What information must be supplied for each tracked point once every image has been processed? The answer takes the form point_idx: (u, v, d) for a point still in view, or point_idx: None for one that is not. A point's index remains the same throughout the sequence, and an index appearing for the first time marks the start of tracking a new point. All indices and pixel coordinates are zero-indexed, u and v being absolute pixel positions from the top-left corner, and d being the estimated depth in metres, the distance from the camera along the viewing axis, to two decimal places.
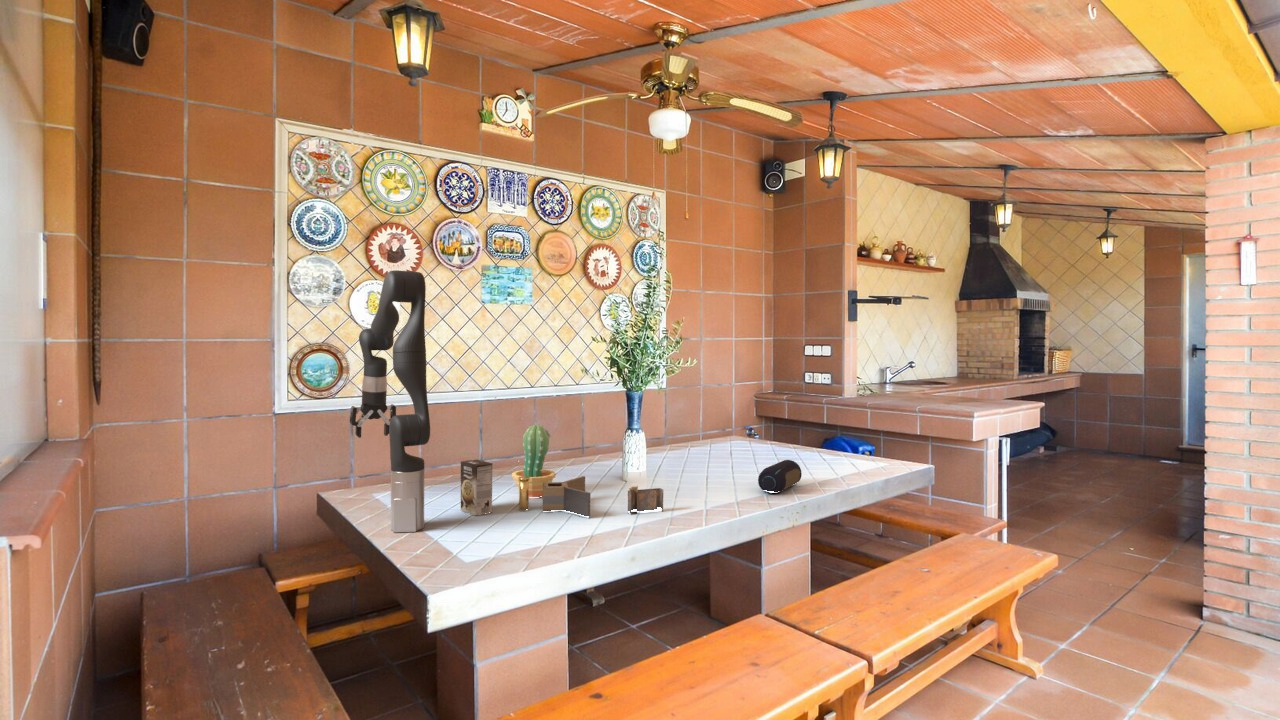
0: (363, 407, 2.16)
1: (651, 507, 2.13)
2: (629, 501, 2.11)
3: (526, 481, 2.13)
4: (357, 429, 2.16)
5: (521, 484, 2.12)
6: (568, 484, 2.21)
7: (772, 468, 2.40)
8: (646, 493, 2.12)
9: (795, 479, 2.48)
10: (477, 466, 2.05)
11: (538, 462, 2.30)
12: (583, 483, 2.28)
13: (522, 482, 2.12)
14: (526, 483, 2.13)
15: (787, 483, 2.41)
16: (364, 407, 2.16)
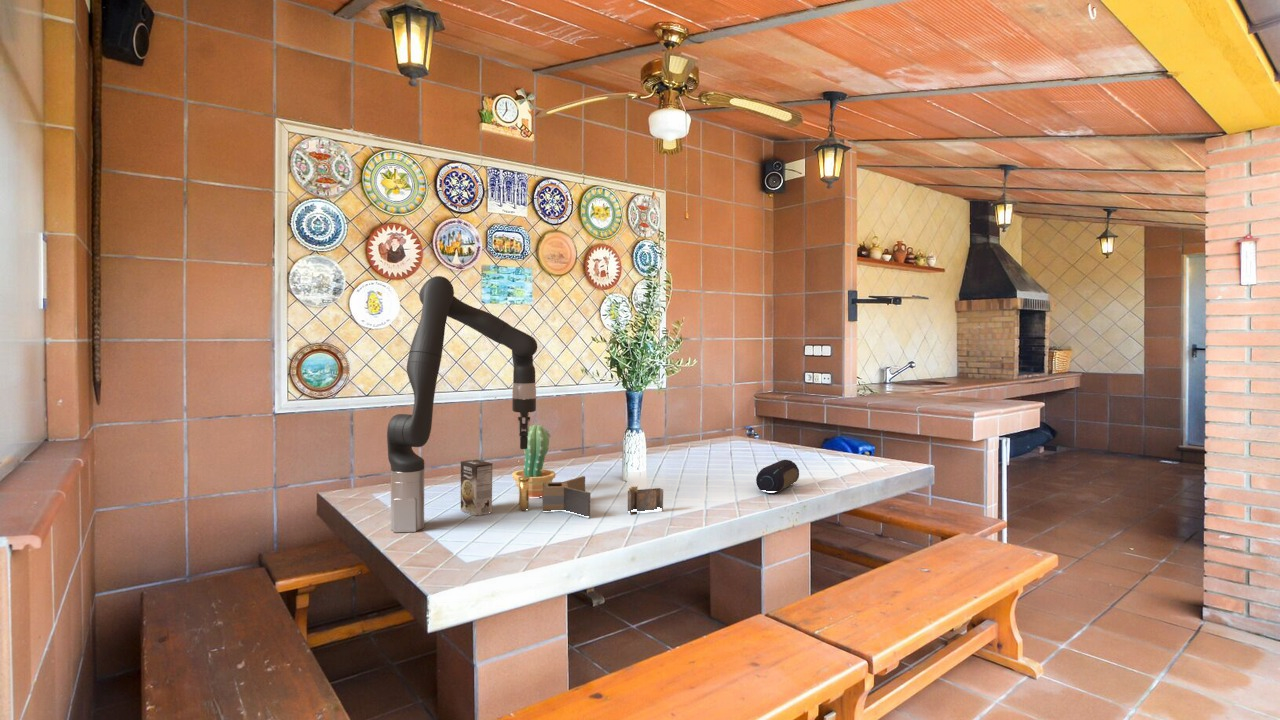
0: None
1: (651, 507, 2.13)
2: (629, 501, 2.11)
3: (526, 481, 2.13)
4: None
5: (521, 484, 2.12)
6: (568, 484, 2.21)
7: (770, 468, 2.40)
8: (646, 493, 2.12)
9: (793, 479, 2.48)
10: (477, 466, 2.05)
11: (538, 462, 2.30)
12: (583, 483, 2.28)
13: (522, 482, 2.12)
14: (526, 483, 2.13)
15: (785, 483, 2.41)
16: None
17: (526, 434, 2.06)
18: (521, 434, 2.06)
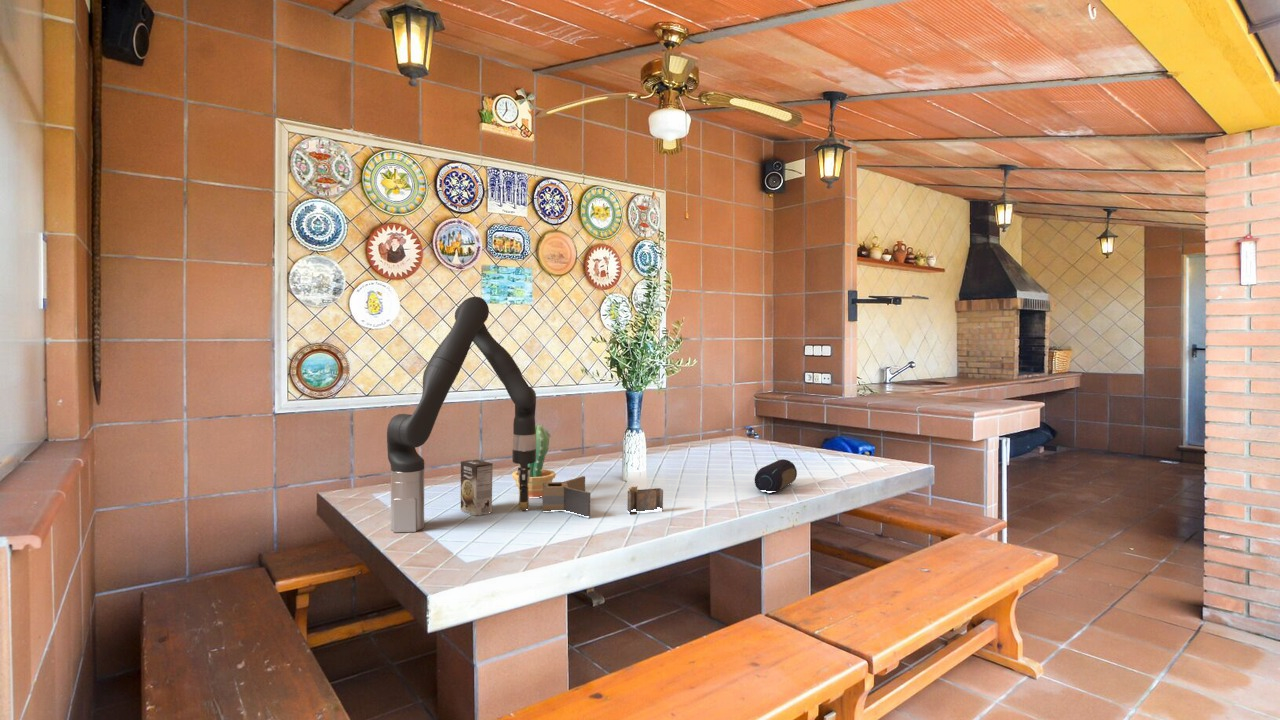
0: None
1: (651, 508, 2.12)
2: (629, 501, 2.11)
3: None
4: None
5: None
6: (568, 484, 2.21)
7: (768, 468, 2.40)
8: (646, 493, 2.12)
9: (791, 478, 2.49)
10: (477, 466, 2.05)
11: (538, 462, 2.30)
12: (583, 483, 2.28)
13: None
14: None
15: (783, 483, 2.42)
16: None
17: (526, 489, 2.10)
18: (521, 489, 2.09)
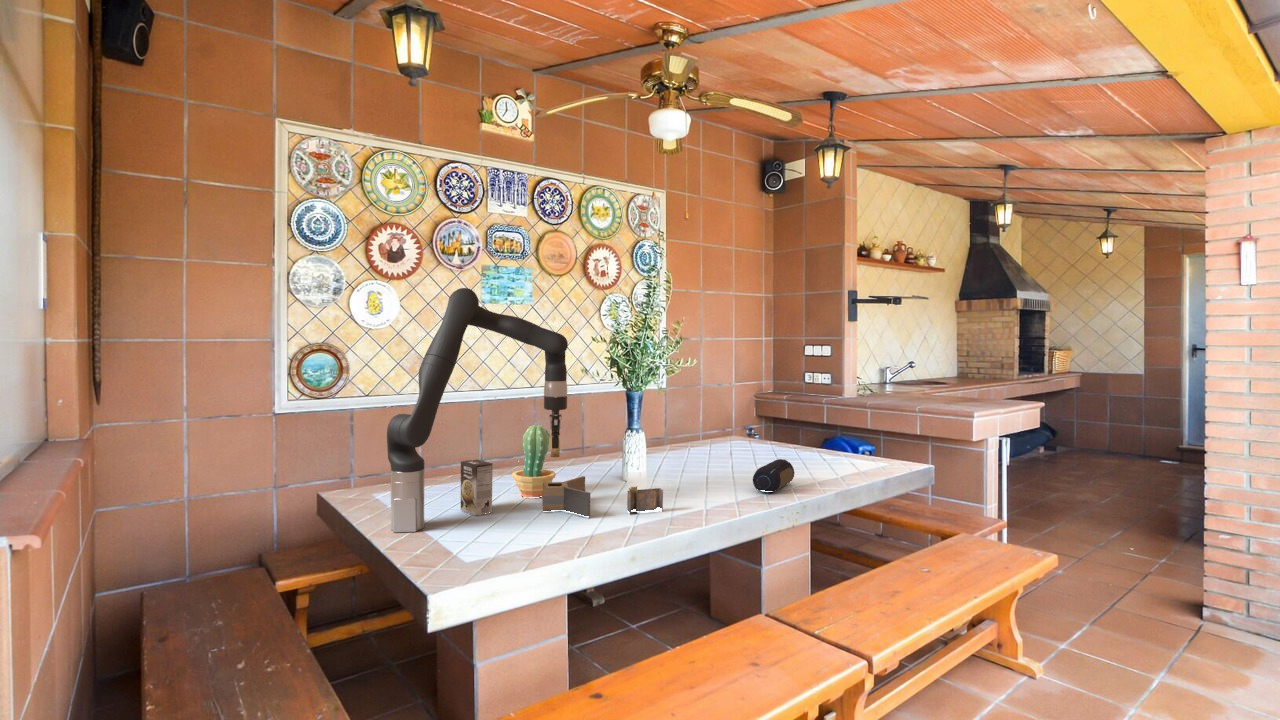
0: None
1: (651, 508, 2.12)
2: (629, 501, 2.11)
3: None
4: None
5: (553, 430, 2.13)
6: (568, 484, 2.21)
7: (767, 468, 2.40)
8: (646, 493, 2.12)
9: (788, 478, 2.49)
10: (477, 466, 2.05)
11: (538, 462, 2.30)
12: (583, 483, 2.28)
13: None
14: None
15: (781, 482, 2.42)
16: None
17: (558, 434, 2.10)
18: (553, 434, 2.10)
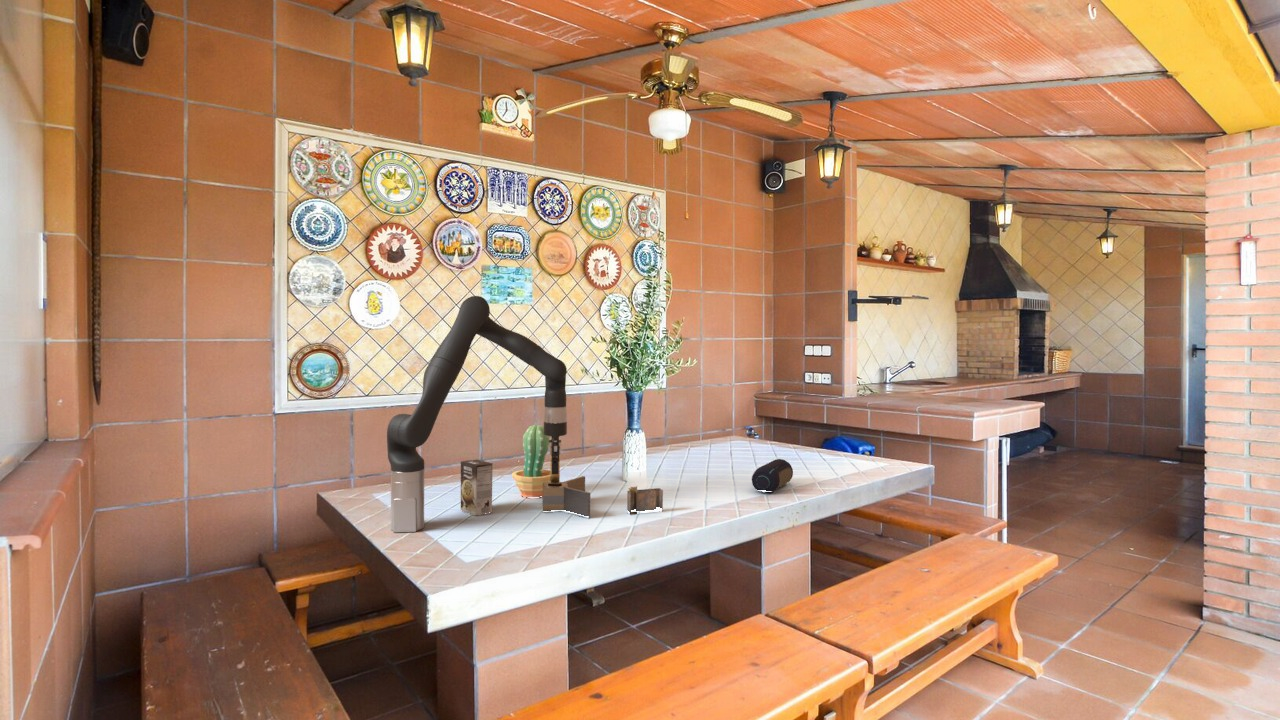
0: None
1: (651, 508, 2.12)
2: (628, 501, 2.11)
3: None
4: None
5: None
6: (568, 484, 2.21)
7: (766, 467, 2.40)
8: (645, 493, 2.12)
9: (787, 478, 2.49)
10: (477, 466, 2.05)
11: (538, 462, 2.30)
12: (583, 483, 2.28)
13: None
14: None
15: (780, 482, 2.42)
16: None
17: (558, 461, 2.11)
18: (553, 461, 2.11)
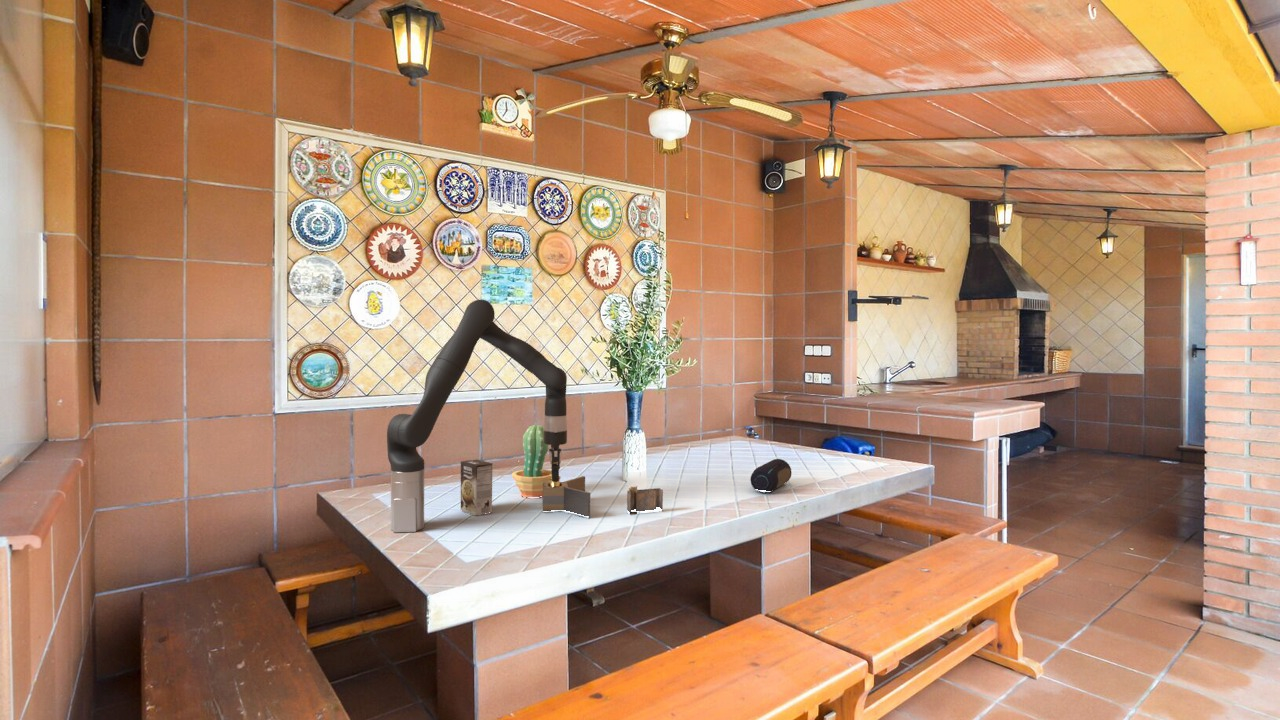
0: None
1: (651, 508, 2.12)
2: (628, 501, 2.11)
3: None
4: None
5: (552, 483, 2.14)
6: (568, 484, 2.21)
7: (764, 467, 2.41)
8: (645, 493, 2.12)
9: (786, 478, 2.50)
10: (477, 466, 2.05)
11: (538, 462, 2.30)
12: (583, 483, 2.28)
13: None
14: (557, 482, 2.14)
15: (779, 482, 2.42)
16: None
17: (558, 467, 2.08)
18: (553, 467, 2.08)
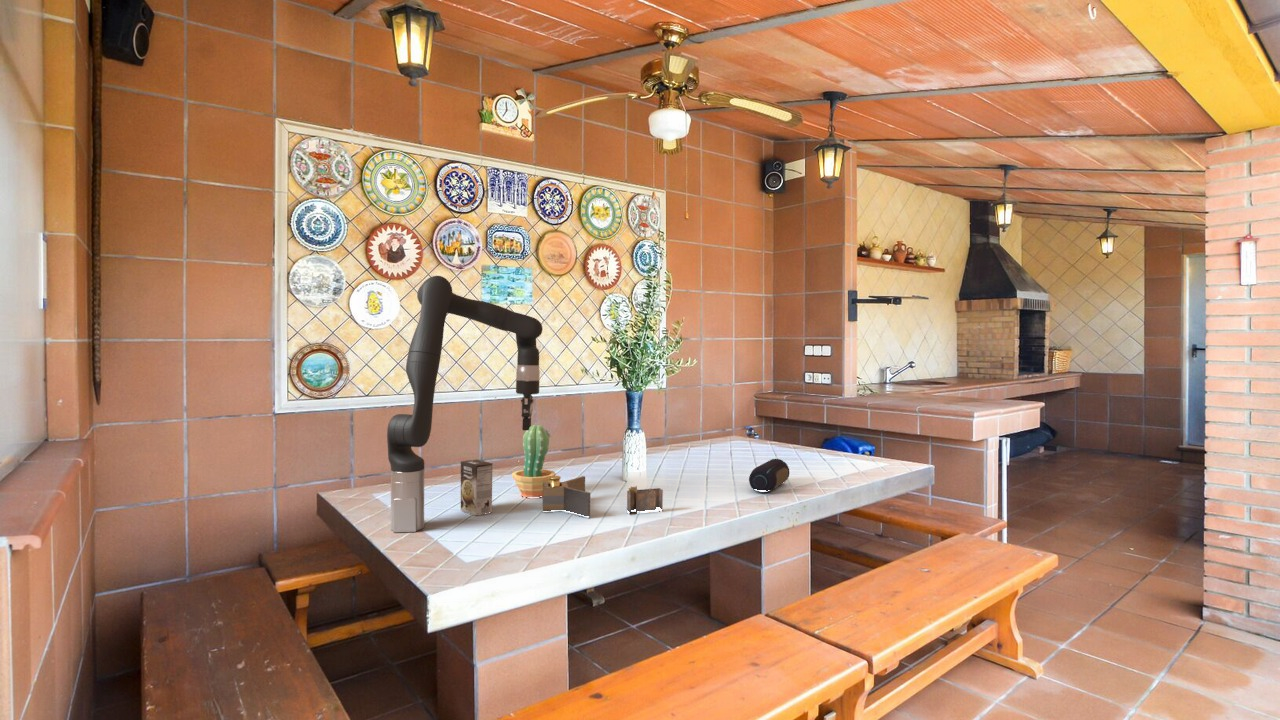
0: None
1: (651, 508, 2.12)
2: (628, 501, 2.11)
3: (557, 480, 2.14)
4: None
5: (552, 483, 2.14)
6: (568, 484, 2.21)
7: (763, 467, 2.41)
8: (645, 493, 2.11)
9: (784, 478, 2.50)
10: (477, 466, 2.05)
11: (538, 462, 2.30)
12: (583, 483, 2.28)
13: (553, 481, 2.14)
14: (557, 482, 2.14)
15: (777, 482, 2.43)
16: None
17: (528, 415, 2.08)
18: (523, 415, 2.08)
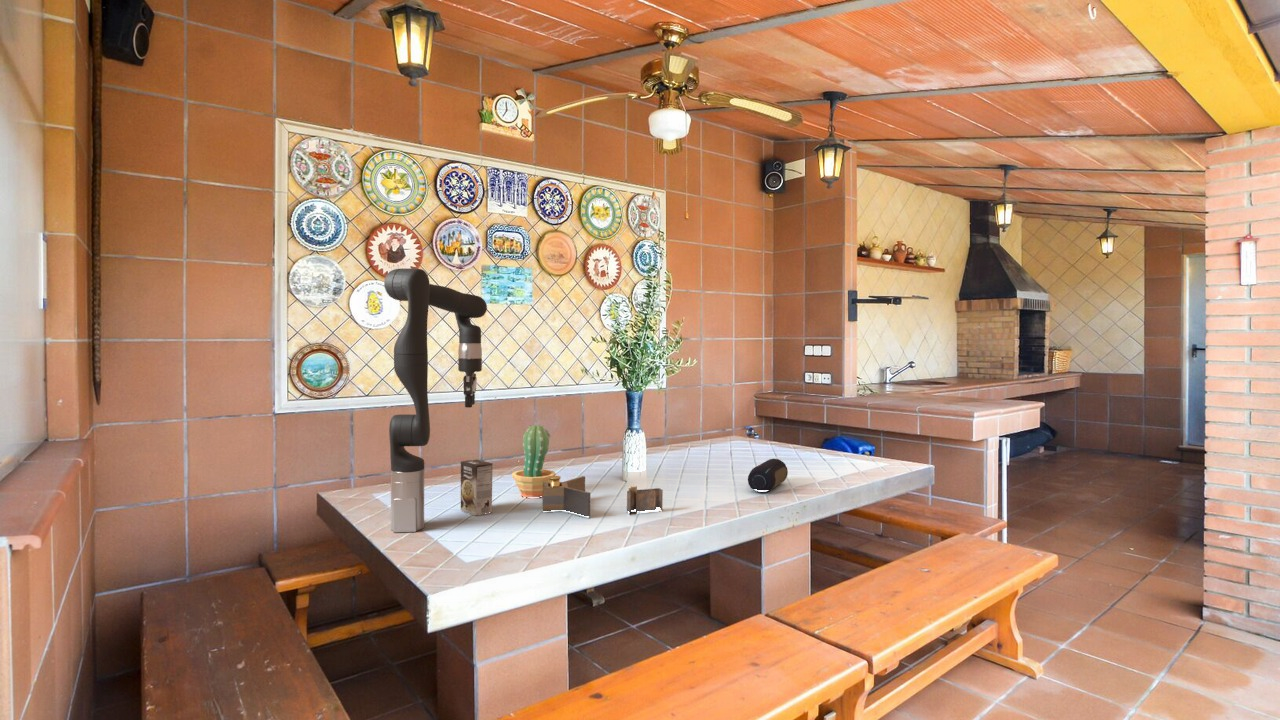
0: None
1: (651, 508, 2.12)
2: (628, 501, 2.11)
3: (557, 480, 2.14)
4: None
5: (552, 483, 2.14)
6: (568, 484, 2.21)
7: (762, 467, 2.41)
8: (645, 493, 2.11)
9: (782, 478, 2.50)
10: (477, 466, 2.05)
11: (538, 462, 2.30)
12: (583, 483, 2.28)
13: (553, 481, 2.14)
14: (557, 482, 2.14)
15: (776, 482, 2.43)
16: None
17: (470, 392, 2.11)
18: (465, 392, 2.11)
